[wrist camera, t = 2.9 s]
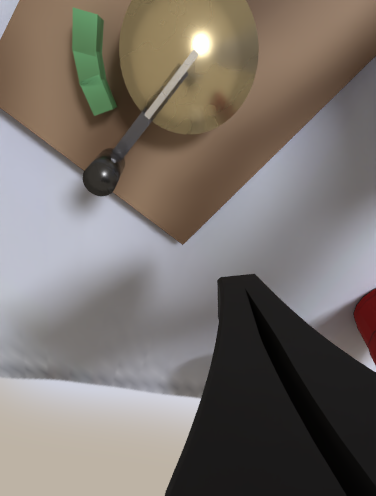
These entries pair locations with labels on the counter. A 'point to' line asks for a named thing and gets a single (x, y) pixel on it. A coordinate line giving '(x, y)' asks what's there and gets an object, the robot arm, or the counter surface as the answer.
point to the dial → (180, 72)
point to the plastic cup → (367, 321)
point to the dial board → (159, 139)
